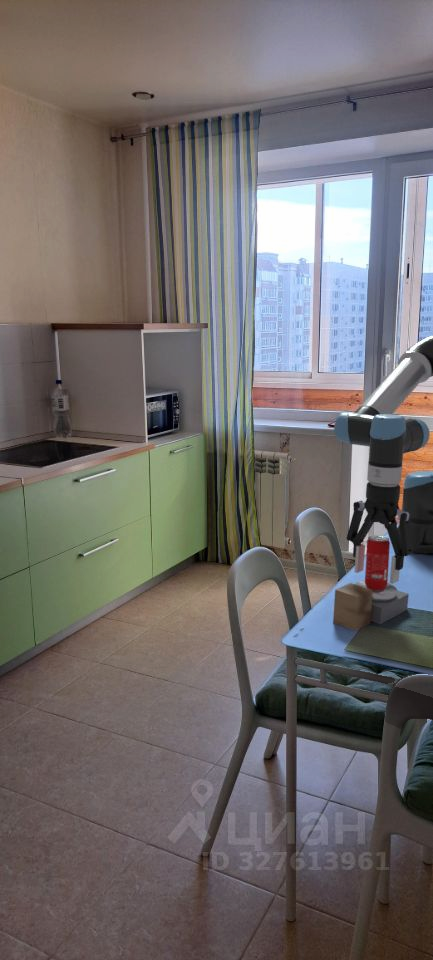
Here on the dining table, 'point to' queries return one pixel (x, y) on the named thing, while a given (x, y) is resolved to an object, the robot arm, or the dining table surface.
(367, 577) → the beverage can
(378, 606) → the scale base
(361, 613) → the walnut block
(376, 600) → the scale pan
